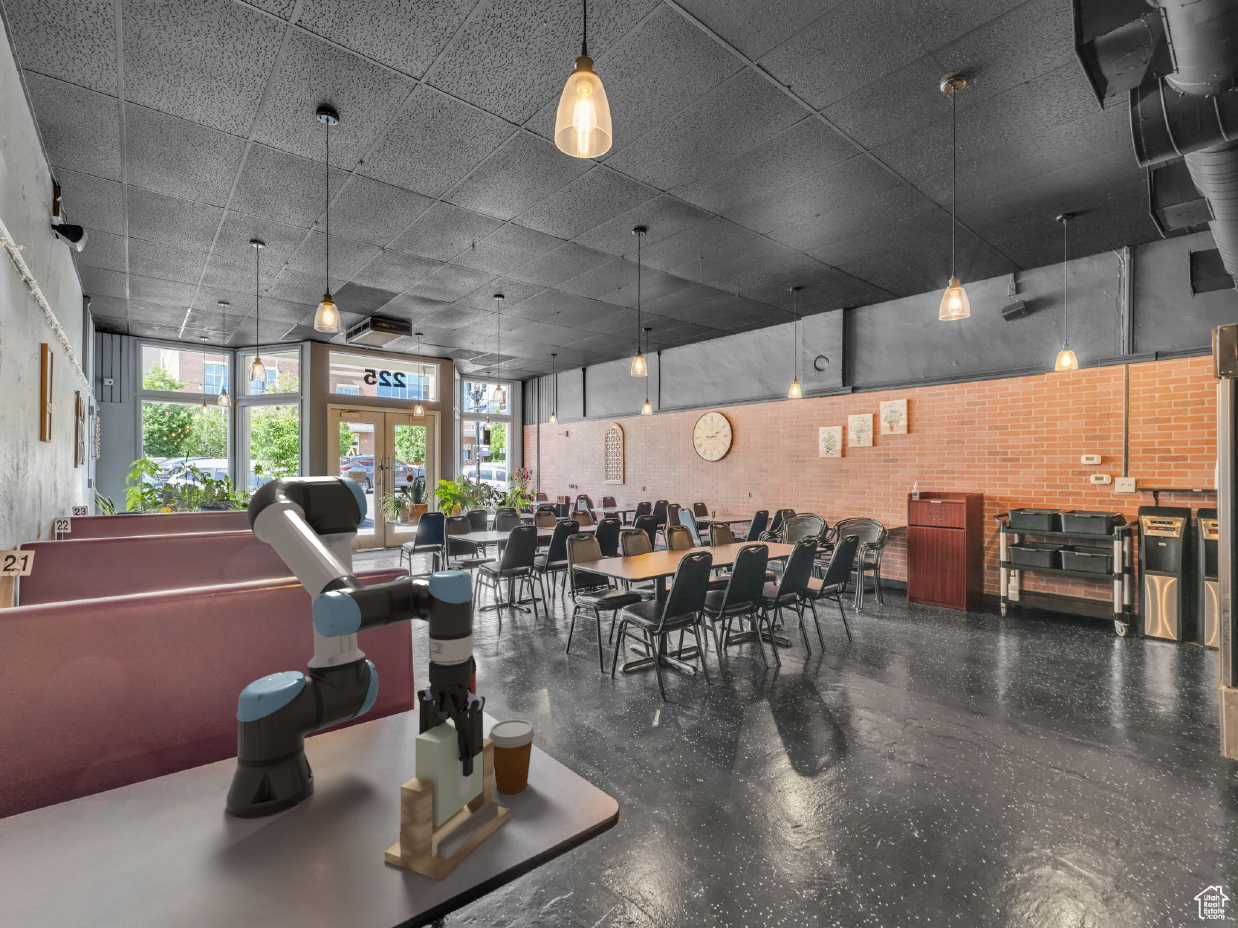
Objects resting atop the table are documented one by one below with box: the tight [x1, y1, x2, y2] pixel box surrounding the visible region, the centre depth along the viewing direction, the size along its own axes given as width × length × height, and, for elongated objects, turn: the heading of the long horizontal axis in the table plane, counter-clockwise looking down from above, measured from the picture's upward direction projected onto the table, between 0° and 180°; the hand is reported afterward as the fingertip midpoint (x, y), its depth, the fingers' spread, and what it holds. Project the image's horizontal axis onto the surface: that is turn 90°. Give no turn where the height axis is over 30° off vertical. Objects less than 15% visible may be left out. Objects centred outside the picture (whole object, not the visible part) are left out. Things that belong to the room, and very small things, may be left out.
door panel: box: [415, 713, 483, 827], centre depth 105 cm, size 5×12×14 cm, turn 156°
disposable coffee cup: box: [487, 719, 536, 795], centre depth 123 cm, size 10×10×12 cm
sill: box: [384, 737, 511, 881], centre depth 105 cm, size 12×20×14 cm, turn 156°
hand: (450, 788), depth 105 cm, fingers closed on door panel, 5 cm apart
